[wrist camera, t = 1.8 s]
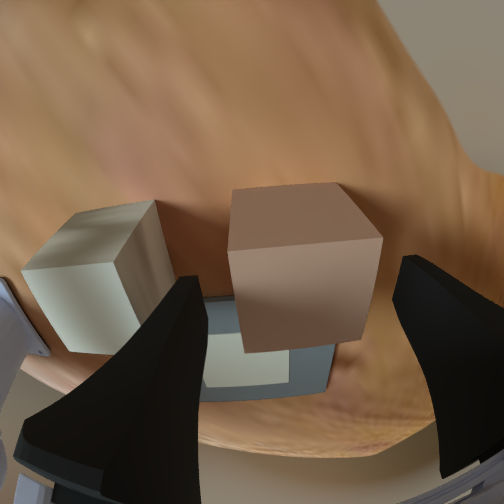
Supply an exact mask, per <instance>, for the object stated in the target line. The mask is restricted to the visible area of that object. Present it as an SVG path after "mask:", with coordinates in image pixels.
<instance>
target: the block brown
mask: <svg viewBox="0 0 504 504" xmlns="http://www.w3.org/2000/svg"><path fill="white" fill-rule="evenodd" d="M382 243H383V236H382V235H381V234H380V233H379V232H378V230H377V229H376V228H375V227H374V225H373V224H372V223H371V222H370V221H369V219H368V218H367V217H366V216H365V215H364V213H363V212H362V211H361V210H360V209H359V208H358V206H357V205H356V204H355V203H354V202H353V201H352V200H351V198H350V197H349V196H348V195H347V194H346V193H345V192H344V191H343V190H342V188H341V187H340V186H339V185H338V184H337V183H336V182H331V183H311V184H295V185H281V186H268V187H256V188H246V189H235V190H233V191H232V202H231V213H230V225H229V237H228V249H227V253H228V259H229V265H230V272H231V278H232V284H233V290H234V296H235V302H236V308H237V314H238V320H239V325H240V331H241V337H242V343H243V348H244V354H249V353H262V352H273V351H283V350H292V349H301V348H309V347H317V346H324V345H331V344H337V343H344V342H350V341H356V340H361V338H362V335H363V331H364V327H365V323H366V319H367V315H368V311H369V307H370V303H371V299H372V294H373V290H374V285H375V280H376V276H377V271H378V265H379V260H380V254H381V249H382Z"/></svg>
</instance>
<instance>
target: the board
mask: <svg viewBox="0 0 504 504" xmlns="http://www.w3.org/2000/svg"><path fill="white" fill-rule="evenodd" d="M203 300H204V304H205V308H206V311H207V315H208V319H209V321H208V346H207V353H206V360H205V366H204V373H203V379H202V386H201V392H200V399H199V402H220V401H246V400H261V399H273V398H283V397H292V396H300V395H308V394H315V393H322V392H325V390H326V385H327V381H328V377H329V372H330V368H331V363H332V359H333V354H334V349H335V344H331V345H324V346H317V347H309V348H301V349H292V350H283V351H273V352H262V353H249V354H244V348H243V343H242V337H241V331H240V325H239V320H238V314H237V308H236V302H235V296H221V297H207V298H203Z"/></svg>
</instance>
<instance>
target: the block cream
mask: <svg viewBox="0 0 504 504" xmlns="http://www.w3.org/2000/svg"><path fill="white" fill-rule="evenodd" d="M21 272H22V274H23V276H24V278H25V280H26V282H27V284H28V286H29V288H30V290H31V291H32V293H33V295H34V297H35V298H36V300H37V302H38V304H39V305H40V307H41V309H42V310H43V312H44V314H45V315H46V317H47V319H48V320H49V322H50V323H51V325H52V326H53V328H54V329H55V331H56V332H57V334H58V335H59V337H60V338H61V340H62V341H63V343H64V344H65V346H66V347H67V348H68V350H69V351H71V352H81V353H93V354H107V355H115V354H116V353H117V352H118V351H119V350H120V349H121V348H122V347H123V346H124V345H125V344H126V343H127V341H128V340H129V339H130V338H131V337H132V336H133V335H134V333H135V332H136V331H137V330H138V329H139V328H140V327H141V325H142V324H143V323H144V322H145V321H146V319H147V318H148V317H149V316H150V314H151V313H152V312H153V311H154V309H155V308H156V307H157V306H158V304H159V303H160V302H161V300H162V299H163V298H164V296H165V295H166V294H167V292H168V291H169V290H170V289H171V287H172V286H173V285H174V283H175V282H176V278H175V275H174V272H173V268H172V265H171V261H170V258H169V254H168V250H167V247H166V243H165V239H164V235H163V231H162V227H161V223H160V219H159V215H158V211H157V207H156V203H155V200H148V201H142V202H135V203H129V204H123V205H117V206H112V207H106V208H101V209H95V210H90V211H85V212H80V213H75V214H74V215H73V216H72V217H71V218H70V219H69V220H68V221H67V222H66V223H65V224H64V225H63V226H62V227H61V228H60V229H59V230H58V231H57V232H56V233H55V234H54V235H53V236H52V237H51V238H50V239H49V240H48V241H47V242H46V243H45V244H44V245H43V246H42V247H41V249H40V250H39V251H38V252H37V253H36V254H35V255H34V256H33V257H32V258H31V260H30V261H29V262H28V263H27V264H26V265H25V266H24V268H23V269H22V270H21Z"/></svg>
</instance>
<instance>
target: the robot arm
mask: <svg viewBox="0 0 504 504" xmlns="http://www.w3.org/2000/svg"><path fill="white" fill-rule="evenodd" d="M392 301H393V304H394V307H395V310H396V313H397V316H398V318H399V321H400V323H401V326H402V328H403V330H404V332H405V334H406V336H407V338H408V340H409V342H410V344H411V346H412V348H413V350H414V353H415V355H416V357H417V359H418V361H419V363H420V366H421V368H422V370H423V373H424V375H425V378H426V381H427V385H428V388H429V392H430V395H431V399H432V404H433V408H434V413H435V418H436V424H437V430H438V438H439V454H440V473H441V477H442V479H444V478H446V477H448V476H450V475H452V474H454V473H456V472H458V471H460V470H462V469H464V468H465V467H467V466H469V465H471V464H473V463H474V462H476V461H477V460H479V461H480V465H478V466H477V467H475V468H473V469H471V470H470V471H468V472H466V473H464V474H463V475H461V476H459V477H457V478H455V479H453V480H451V481H449V482H447V483H445V484H443V485H441V486H439V487H437V488H435V489H432V490H430V491H428V492H426V493H423V494H421V495H418V496H416V497H414V498H411V499H408V500H406V501H403V502H400V503H398V504H444V503H446V502H448V501H450V500H452V499H453V498H455V497H457V496H459V495H461V494H463V493H464V492H466V491H468V490H469V489H471V488H472V491H471V493H470V494H469V495H467V496H464V497H462V498H460V499H458V500H455V501H454V502H451V503H449V504H504V308H502V307H501V306H499V305H497V304H495V303H493V302H492V301H490V300H488V299H487V298H485V297H483V296H482V295H480V294H479V293H477V292H475V291H474V290H472V289H471V288H469V287H468V286H466V285H465V284H463V283H462V282H460V281H459V280H457V279H456V278H454V277H453V276H451V275H450V274H448V273H447V272H445V271H444V270H442V269H441V268H439V267H437V266H436V265H434V264H433V263H431V262H429V261H428V260H426V259H424V258H422V257H420V256H418V255H408V256H403V258H402V263H401V267H400V271H399V275H398V279H397V283H396V287H395V290H394V294H393V298H392ZM208 321H209V319H208V315H207V311H206V308H205V304H204V300H203V296H202V292H201V288H200V284H199V280H198V276H197V275H196V276H183V277H179V278H178V280H177V281H176V282H175V283H174V285H173V286H172V287H171V289H170V290H169V291H168V292H167V294H166V295H165V296H164V298H163V299H162V300H161V302H160V303H159V304H158V306H157V307H156V308H155V309H154V311H153V312H152V313H151V314H150V316H149V317H148V318H147V319H146V321H145V322H144V323H143V324H142V325H141V327H140V328H139V329H138V330H137V331H136V332H135V333H134V335H133V336H132V337H131V338H130V339H129V340H128V341H127V343H126V344H125V345H124V346H123V347H122V348H121V349H120V350H119V351H118V352H117V353H116V354H115V355H114V356H113V357H112V358H111V359H110V360H109V361H107V362H106V363H105V364H104V365H103V366H102V367H101V368H100V369H98V370H97V371H96V372H95V373H94V374H92V375H91V376H90V377H89V378H88V379H87V380H85V381H84V382H83V383H82V384H80V385H79V386H78V387H76V388H75V389H74V390H72V391H71V392H70V393H68V394H67V395H65V396H64V397H63V398H61V399H60V400H58V401H57V402H55V403H53V404H52V405H51V406H49V407H47V408H45V409H43V410H42V411H40V412H38V413H36V414H35V415H33V416H31V417H29V418H27V419H25V421H24V423H23V426H22V429H21V432H20V435H19V438H18V441H17V444H16V448H15V451H14V454H13V457H14V459H15V460H16V461H17V462H19V463H20V464H22V465H24V466H25V467H27V468H29V469H30V470H32V471H34V472H36V473H38V474H39V475H41V476H43V477H45V478H47V479H49V480H51V481H53V482H55V484H54V489H53V488H50V487H48V486H46V485H44V484H42V483H40V482H38V481H36V480H34V479H32V478H30V477H28V476H27V475H25V474H23V473H20V474H19V479H18V483H17V488H16V493H15V498H14V503H13V504H201V496H200V484H199V467H198V466H199V465H198V410H199V399H200V392H201V386H202V379H203V373H204V366H205V360H206V353H207V346H208ZM27 353H28V354H34V355H40V356H46V357H49V355H50V350H49V349H48V348H47V346H46V345H45V344H44V342H43V341H42V339H41V338H40V337H39V335H38V334H37V332H36V331H35V329H34V328H33V326H32V325H31V323H30V322H29V320H28V319H27V317H26V316H25V314H24V312H23V311H22V309H21V308H20V306H19V304H18V303H17V301H16V299H15V297H14V296H13V294H12V292H11V290H10V289H9V287H8V285H7V283H6V282H5V280H4V279H2V278H0V412H1V409H2V407H3V404H4V402H5V400H6V397H7V395H8V393H9V390H10V388H11V386H12V384H13V381H14V379H15V377H16V375H17V373H18V371H19V369H20V367H21V365H22V363H23V361H24V359H25V357H26V355H27ZM1 433H2V432H1V430H0V436H1ZM6 474H7V456H6V452H5V447H4V444H3V442H2V440H1V438H0V490H1V489H2V487H3V485H4V482H5V479H6Z"/></svg>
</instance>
